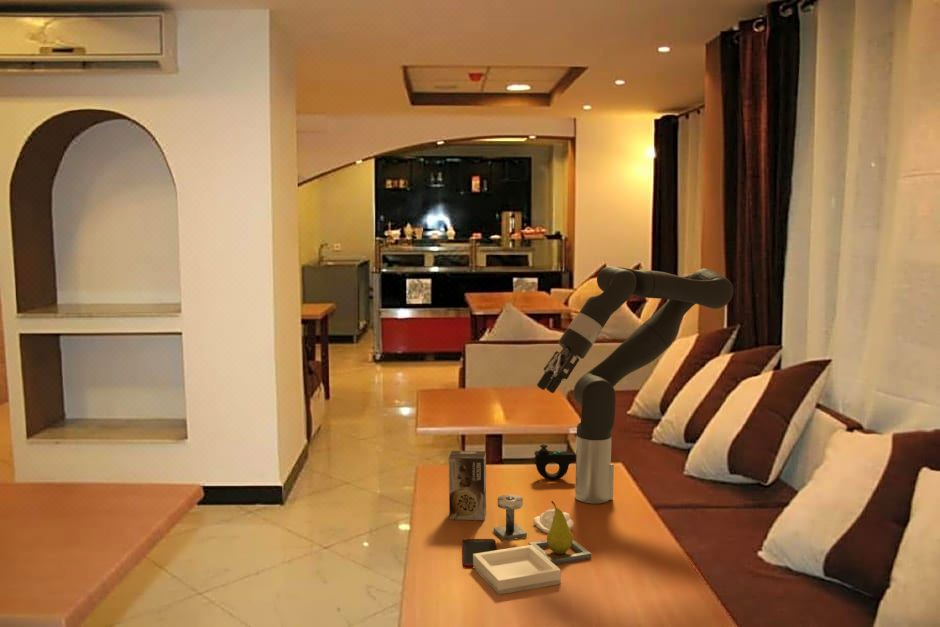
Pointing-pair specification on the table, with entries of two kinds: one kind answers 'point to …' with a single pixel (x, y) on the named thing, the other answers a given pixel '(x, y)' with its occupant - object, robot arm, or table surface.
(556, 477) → the controller
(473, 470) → the coffee box
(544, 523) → the rose
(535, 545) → the grey square frame
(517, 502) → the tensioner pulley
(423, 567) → the table surface
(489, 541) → the cell phone
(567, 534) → the fruit
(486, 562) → the tray
